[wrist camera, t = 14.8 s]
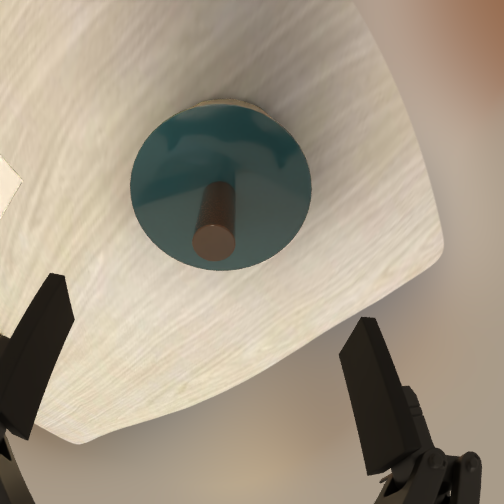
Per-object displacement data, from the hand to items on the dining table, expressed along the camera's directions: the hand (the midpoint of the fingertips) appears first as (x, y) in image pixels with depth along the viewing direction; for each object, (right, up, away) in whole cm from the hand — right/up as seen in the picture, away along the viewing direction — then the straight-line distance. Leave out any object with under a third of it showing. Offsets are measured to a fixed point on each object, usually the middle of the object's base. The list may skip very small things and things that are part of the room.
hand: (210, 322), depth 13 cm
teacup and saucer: (-40, +13, +16) cm, 45 cm away
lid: (-1, +8, +12) cm, 14 cm away
